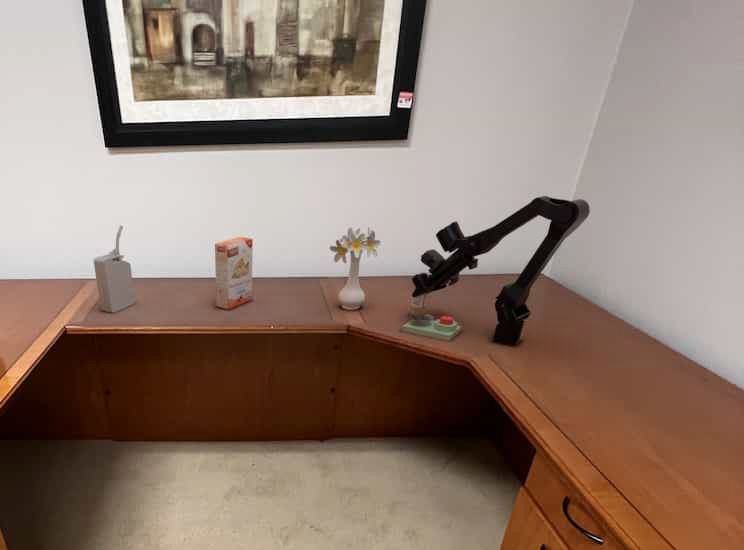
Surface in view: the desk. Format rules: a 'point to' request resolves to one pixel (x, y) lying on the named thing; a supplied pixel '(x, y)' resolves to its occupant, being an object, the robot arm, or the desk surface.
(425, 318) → the plate
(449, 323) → the button
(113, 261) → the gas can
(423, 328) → the warmer
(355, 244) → the flower vase
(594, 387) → the desk surface
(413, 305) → the sprinkles bottle
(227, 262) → the cracker box
